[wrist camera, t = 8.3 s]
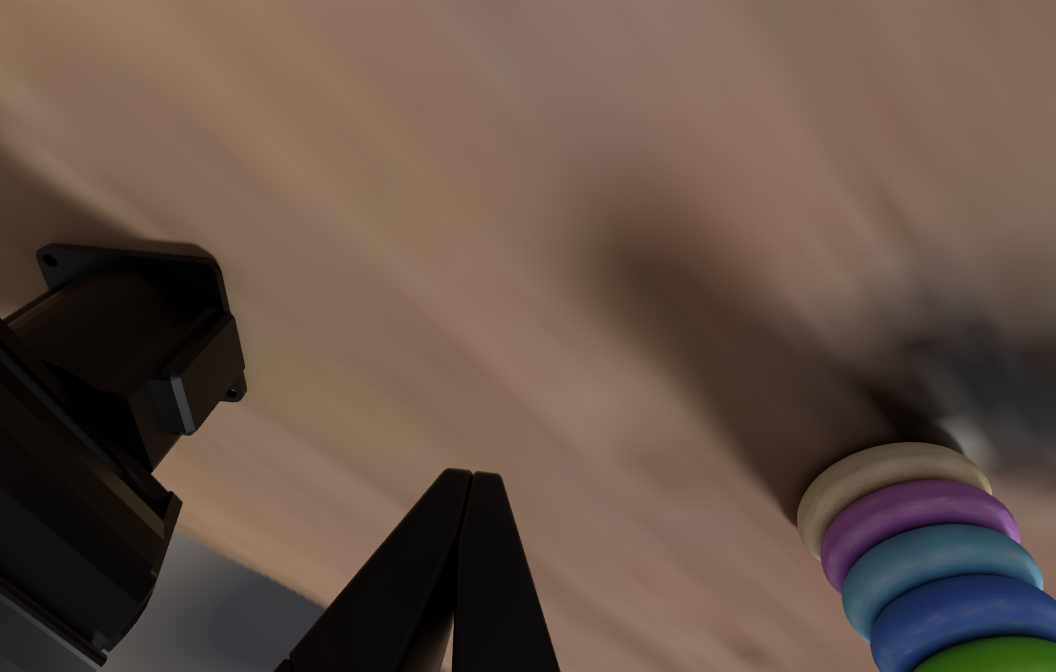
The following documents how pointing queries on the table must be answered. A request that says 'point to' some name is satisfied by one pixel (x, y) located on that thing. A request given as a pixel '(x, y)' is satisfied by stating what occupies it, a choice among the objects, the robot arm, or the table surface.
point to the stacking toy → (928, 563)
